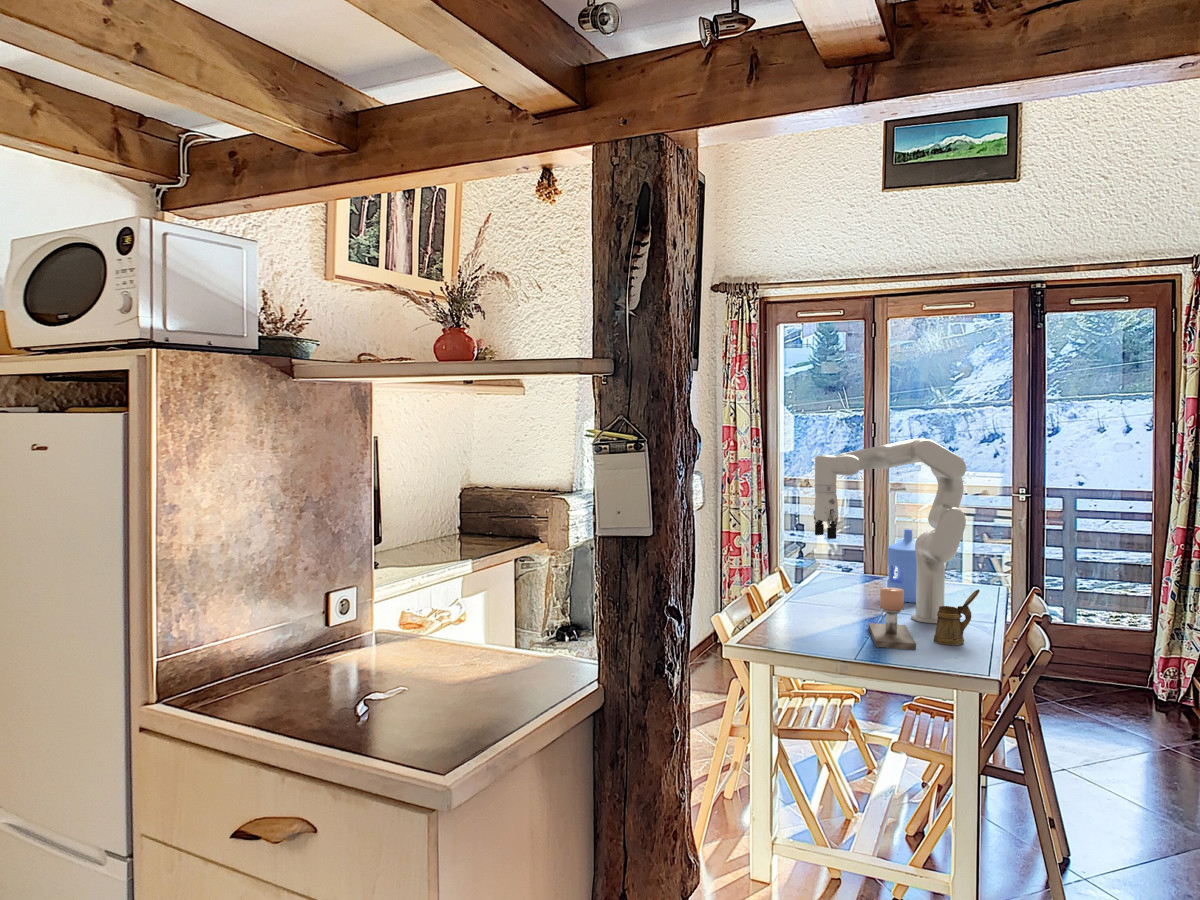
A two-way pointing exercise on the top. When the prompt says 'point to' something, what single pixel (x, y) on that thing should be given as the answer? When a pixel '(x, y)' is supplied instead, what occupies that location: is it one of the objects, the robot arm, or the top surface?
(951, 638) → the wooden mug
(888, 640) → the base board
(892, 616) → the threaded post
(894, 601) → the cap
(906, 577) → the water jug
